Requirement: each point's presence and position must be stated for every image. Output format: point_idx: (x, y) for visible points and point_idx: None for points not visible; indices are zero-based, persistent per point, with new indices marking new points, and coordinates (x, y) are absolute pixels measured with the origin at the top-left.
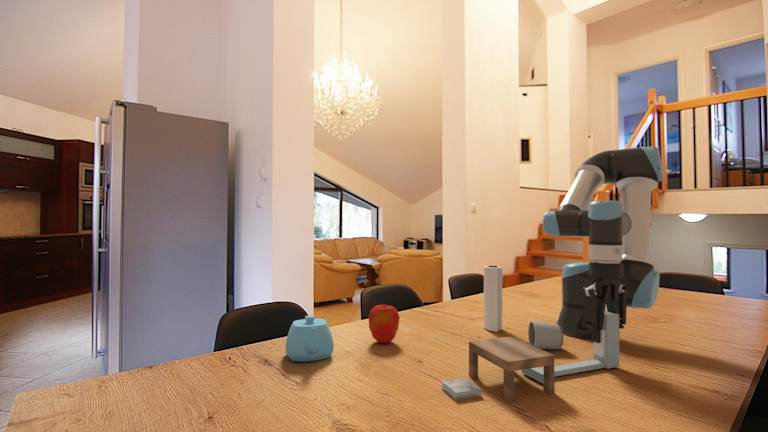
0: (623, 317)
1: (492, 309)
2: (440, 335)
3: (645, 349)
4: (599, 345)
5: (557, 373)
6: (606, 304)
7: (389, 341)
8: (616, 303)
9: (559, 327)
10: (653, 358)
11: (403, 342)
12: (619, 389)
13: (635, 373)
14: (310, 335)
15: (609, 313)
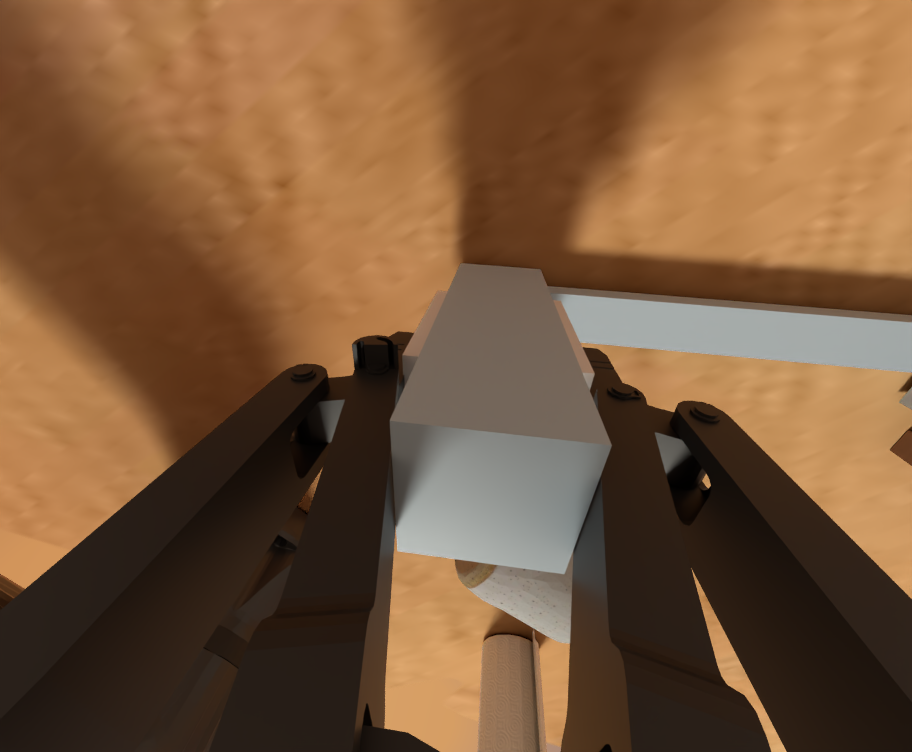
0: (292, 403)
1: (542, 734)
2: None
3: (149, 355)
4: None
5: (870, 316)
6: (387, 617)
7: None
8: (324, 579)
9: (498, 566)
10: (194, 275)
11: None
12: (777, 46)
13: (449, 181)
14: None
15: (465, 483)
